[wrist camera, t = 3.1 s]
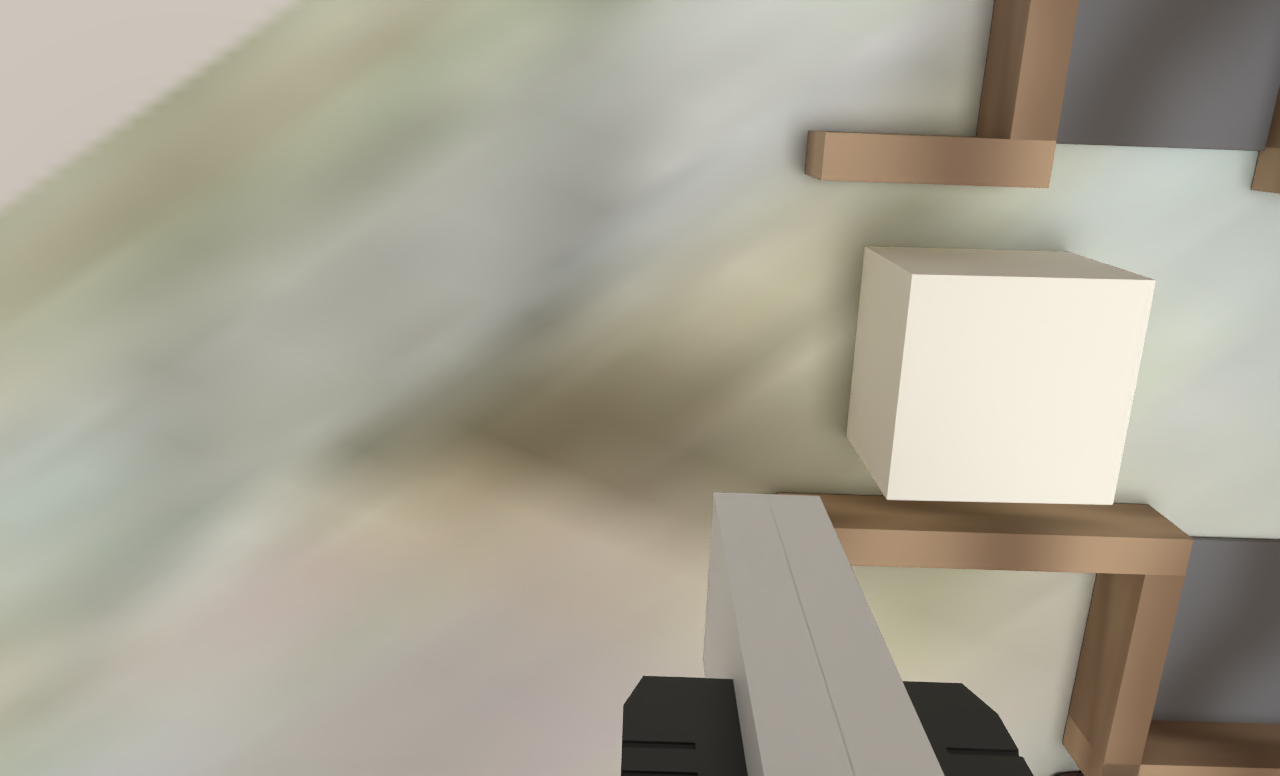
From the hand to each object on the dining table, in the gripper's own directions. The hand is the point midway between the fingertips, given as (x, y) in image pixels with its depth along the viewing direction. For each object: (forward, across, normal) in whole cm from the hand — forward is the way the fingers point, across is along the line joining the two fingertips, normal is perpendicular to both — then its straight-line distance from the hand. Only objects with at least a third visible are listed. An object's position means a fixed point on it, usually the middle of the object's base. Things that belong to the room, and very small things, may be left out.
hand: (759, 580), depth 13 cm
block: (+15, +8, 0) cm, 17 cm away
